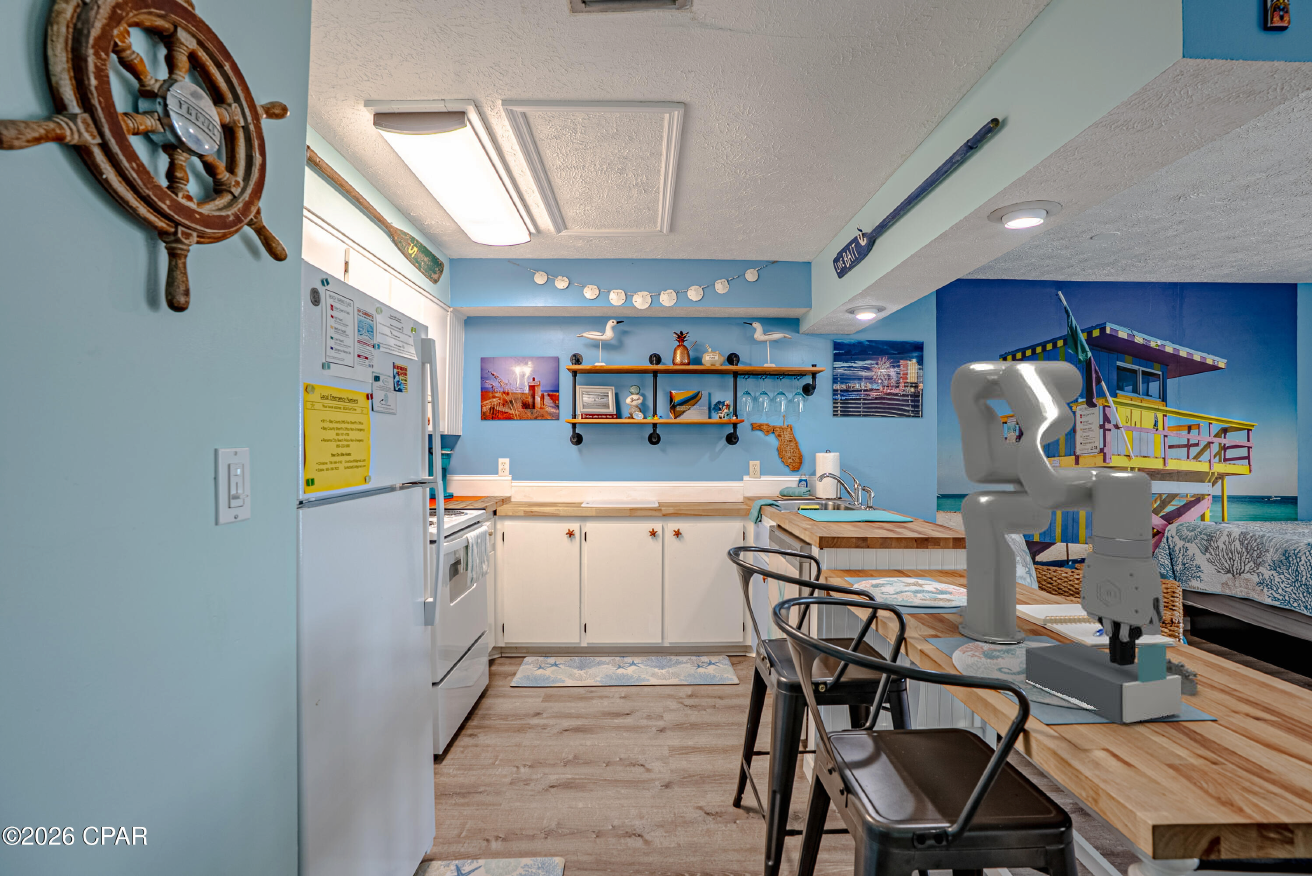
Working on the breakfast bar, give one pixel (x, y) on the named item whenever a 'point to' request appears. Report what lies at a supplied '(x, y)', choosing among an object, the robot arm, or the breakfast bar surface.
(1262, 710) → the breakfast bar surface
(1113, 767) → the breakfast bar surface
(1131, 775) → the breakfast bar surface
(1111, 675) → the sleeve
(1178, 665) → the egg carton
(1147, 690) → the grey drawer
